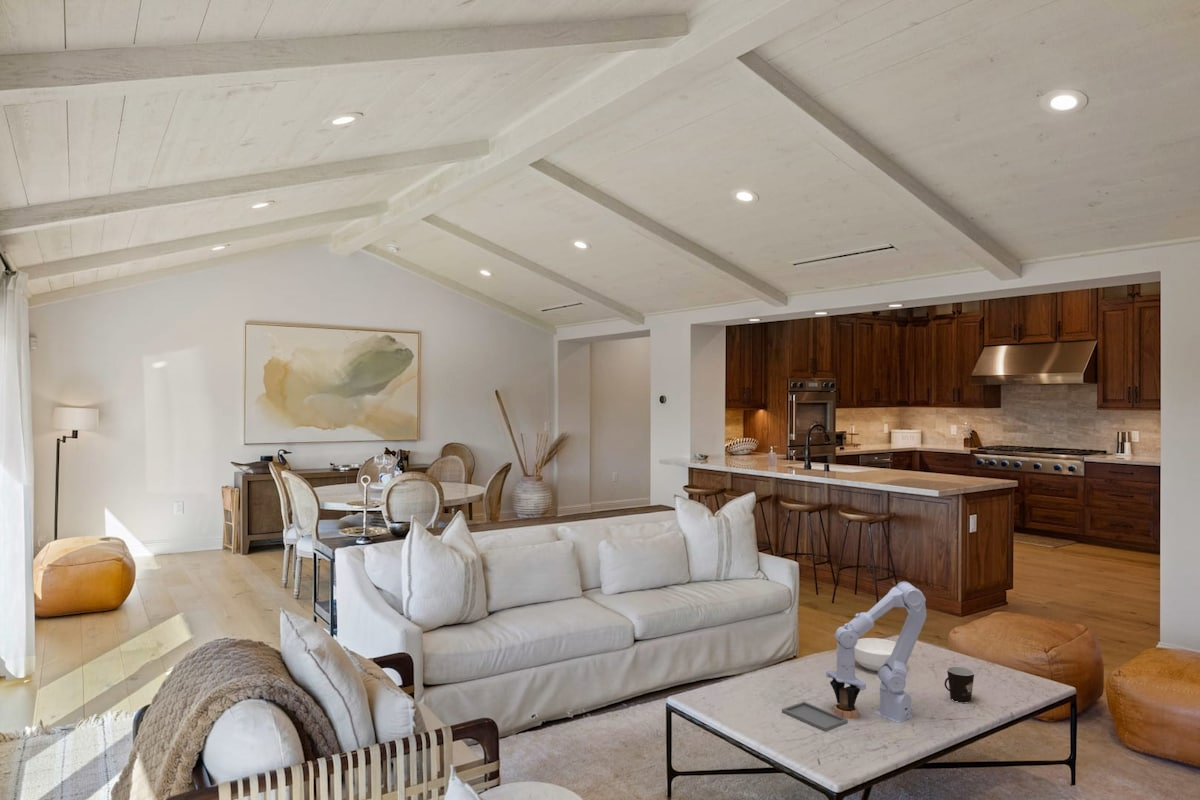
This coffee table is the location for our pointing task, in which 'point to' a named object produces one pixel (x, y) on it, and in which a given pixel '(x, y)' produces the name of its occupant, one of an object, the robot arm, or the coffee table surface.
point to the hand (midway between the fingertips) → (845, 704)
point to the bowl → (873, 652)
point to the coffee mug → (960, 683)
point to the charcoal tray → (814, 716)
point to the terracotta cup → (846, 712)
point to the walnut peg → (843, 700)
